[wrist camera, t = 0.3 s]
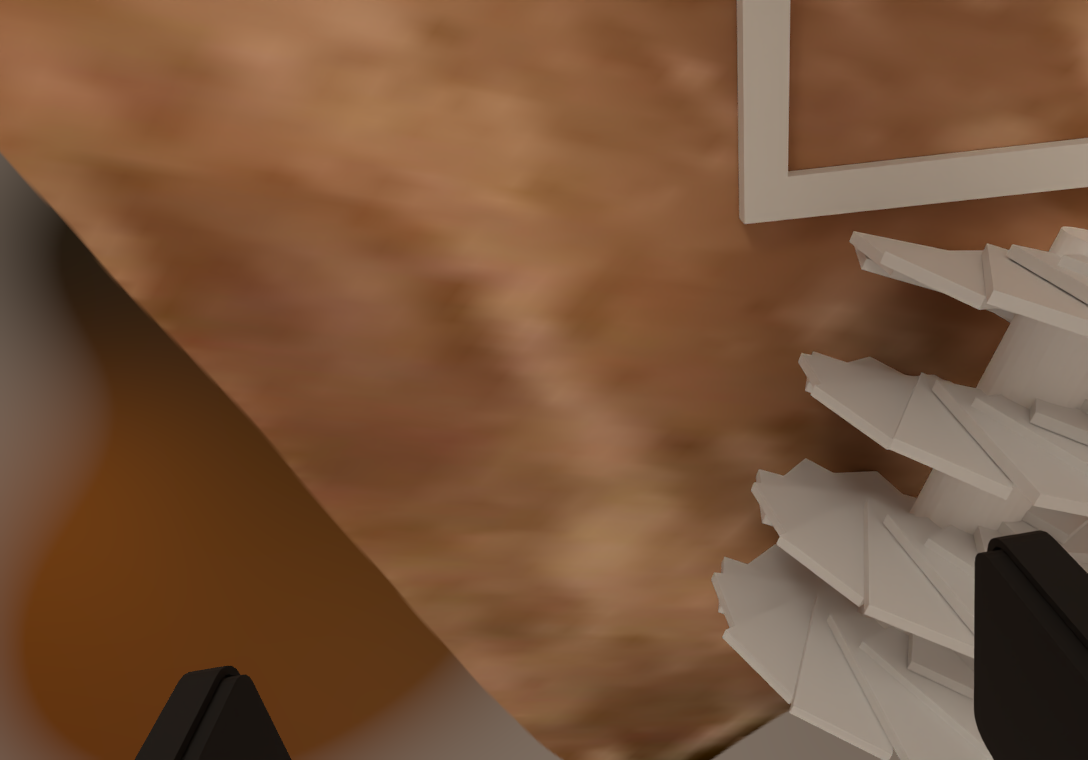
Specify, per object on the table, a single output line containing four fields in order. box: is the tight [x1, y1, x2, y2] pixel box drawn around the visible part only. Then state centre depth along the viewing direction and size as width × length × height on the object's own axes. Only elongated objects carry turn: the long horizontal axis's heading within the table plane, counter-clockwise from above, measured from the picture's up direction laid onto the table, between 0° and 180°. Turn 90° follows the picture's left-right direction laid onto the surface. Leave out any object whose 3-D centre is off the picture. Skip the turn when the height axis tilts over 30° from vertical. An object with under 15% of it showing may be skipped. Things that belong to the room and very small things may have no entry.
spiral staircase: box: [711, 227, 1088, 760], centre depth 35 cm, size 18×18×25 cm
